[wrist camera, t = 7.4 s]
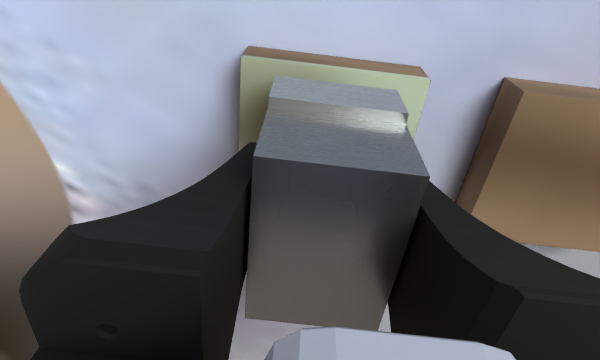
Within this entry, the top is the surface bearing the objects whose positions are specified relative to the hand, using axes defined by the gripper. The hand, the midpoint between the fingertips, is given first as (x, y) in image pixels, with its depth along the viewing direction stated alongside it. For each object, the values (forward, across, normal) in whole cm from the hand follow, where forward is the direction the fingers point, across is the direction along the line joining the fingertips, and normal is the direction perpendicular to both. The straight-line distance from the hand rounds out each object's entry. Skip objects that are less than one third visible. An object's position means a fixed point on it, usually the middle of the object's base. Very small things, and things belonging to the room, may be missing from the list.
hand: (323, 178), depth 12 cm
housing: (+1, 0, 0) cm, 1 cm away
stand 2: (+3, -9, 0) cm, 10 cm away
